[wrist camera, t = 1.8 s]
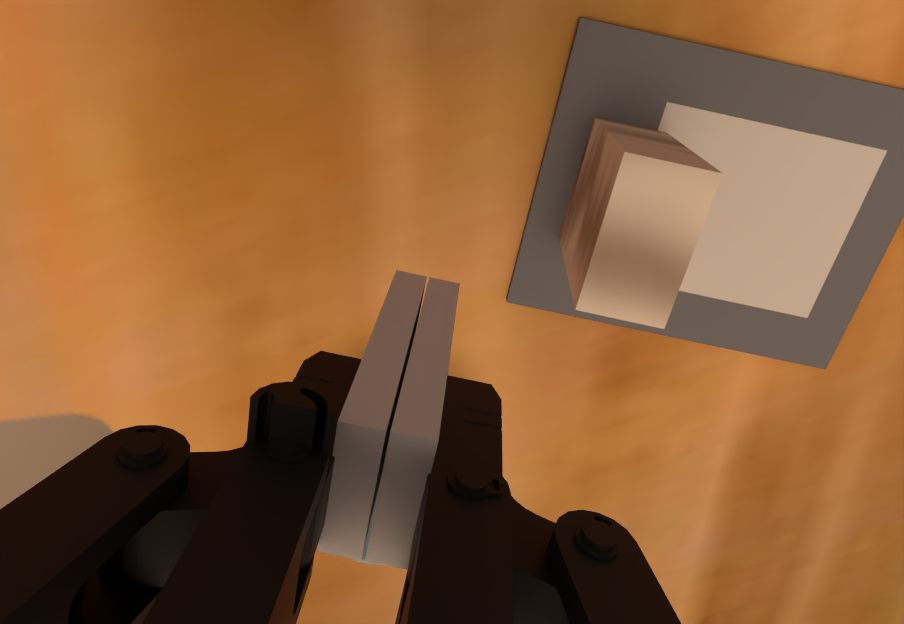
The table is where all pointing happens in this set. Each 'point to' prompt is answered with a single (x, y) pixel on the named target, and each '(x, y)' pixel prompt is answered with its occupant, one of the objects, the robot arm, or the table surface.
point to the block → (634, 221)
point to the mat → (735, 187)
